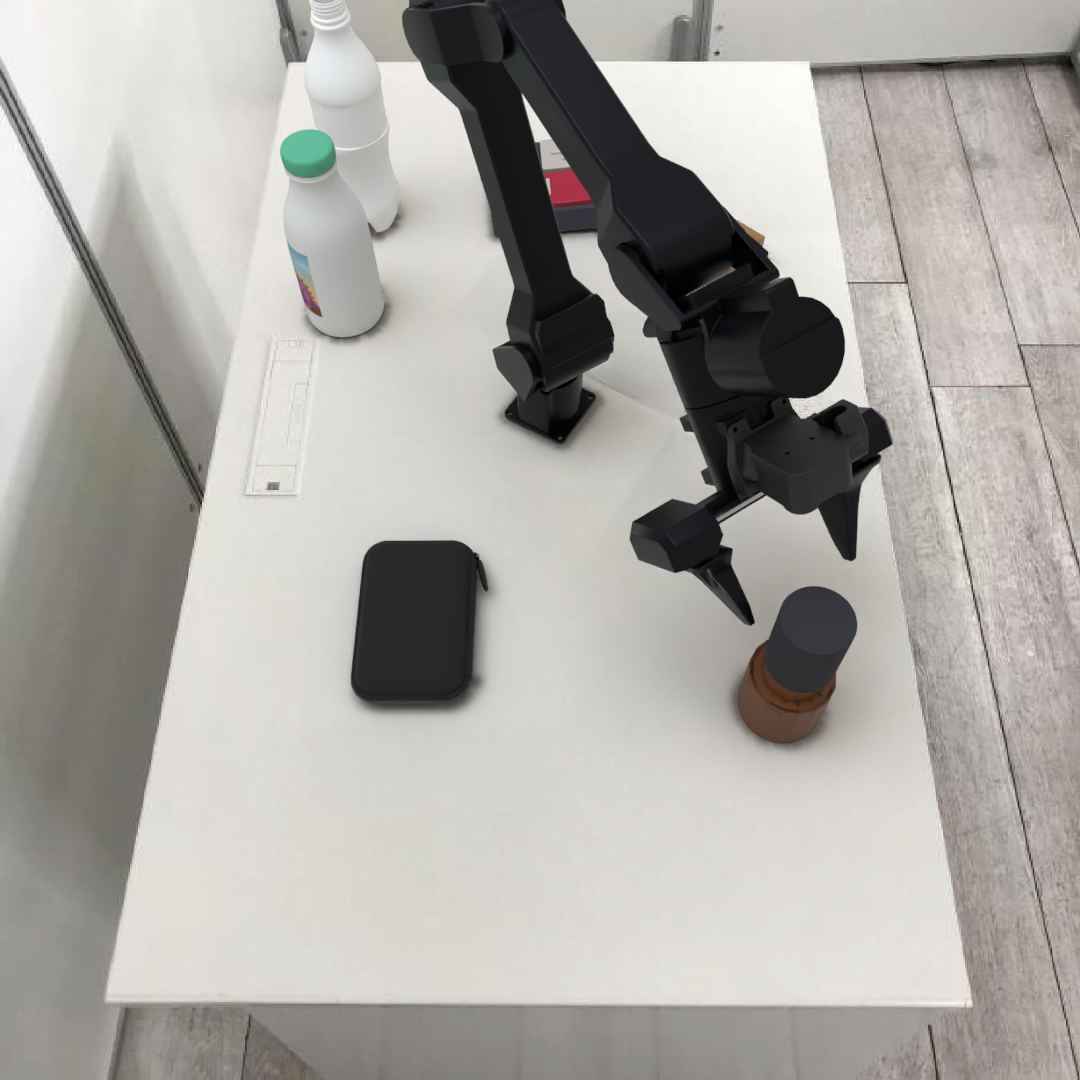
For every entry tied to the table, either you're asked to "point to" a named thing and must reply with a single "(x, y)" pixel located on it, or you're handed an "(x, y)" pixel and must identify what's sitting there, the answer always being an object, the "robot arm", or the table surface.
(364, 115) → the water bottle
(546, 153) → the calculator
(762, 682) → the bottle
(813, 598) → the bung
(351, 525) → the table surface
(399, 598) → the carrying case
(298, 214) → the milk bottle
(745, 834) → the table surface
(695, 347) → the robot arm
